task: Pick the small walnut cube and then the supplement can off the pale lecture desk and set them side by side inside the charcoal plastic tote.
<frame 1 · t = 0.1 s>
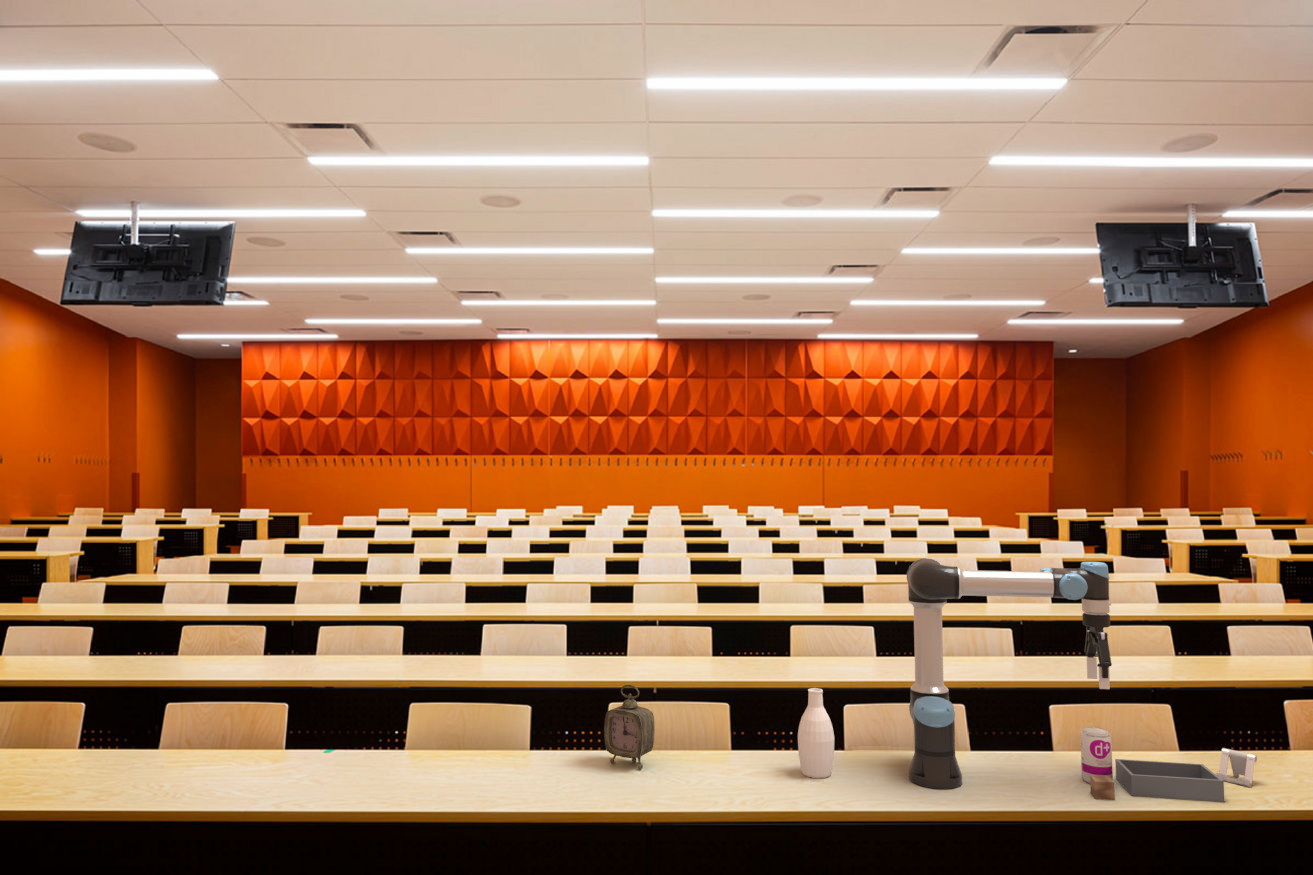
hand: (1098, 683, 262), 28 cm above the table, fingers open, 13 cm apart
bottle: (816, 774, 264), on the table
portable electronic device stand: (1237, 781, 257), on the table
walnut cube: (1102, 796, 244), on the table
supplement can: (1097, 782, 257), on the table
tabletop clock: (630, 764, 274), on the table
tote: (1168, 789, 249), on the table
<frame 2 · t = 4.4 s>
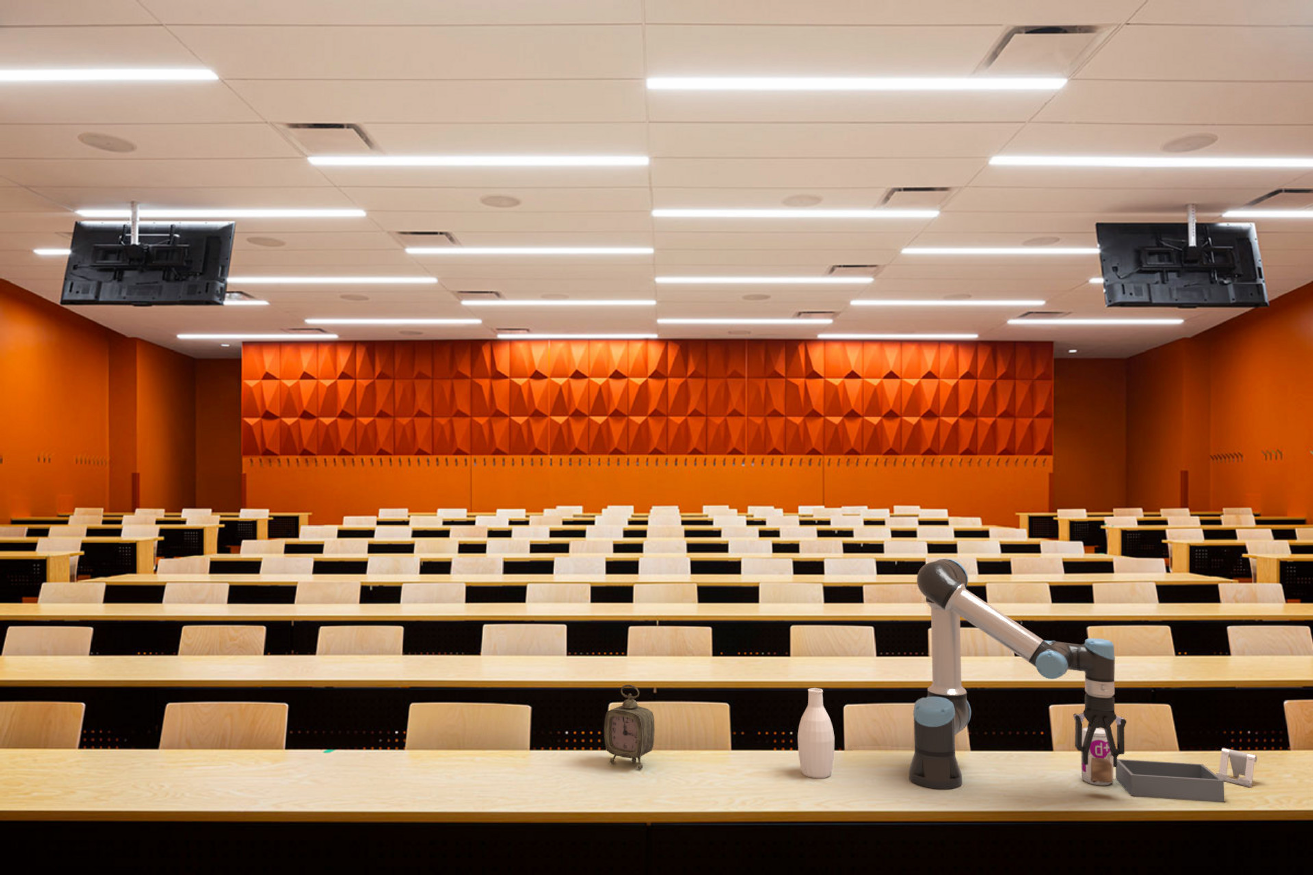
hand: (1099, 776, 245), 5 cm above the table, fingers closed on walnut cube, 5 cm apart
walnut cube: (1099, 778, 245), point 5 cm above the table, touching gripper
everything else where it was.
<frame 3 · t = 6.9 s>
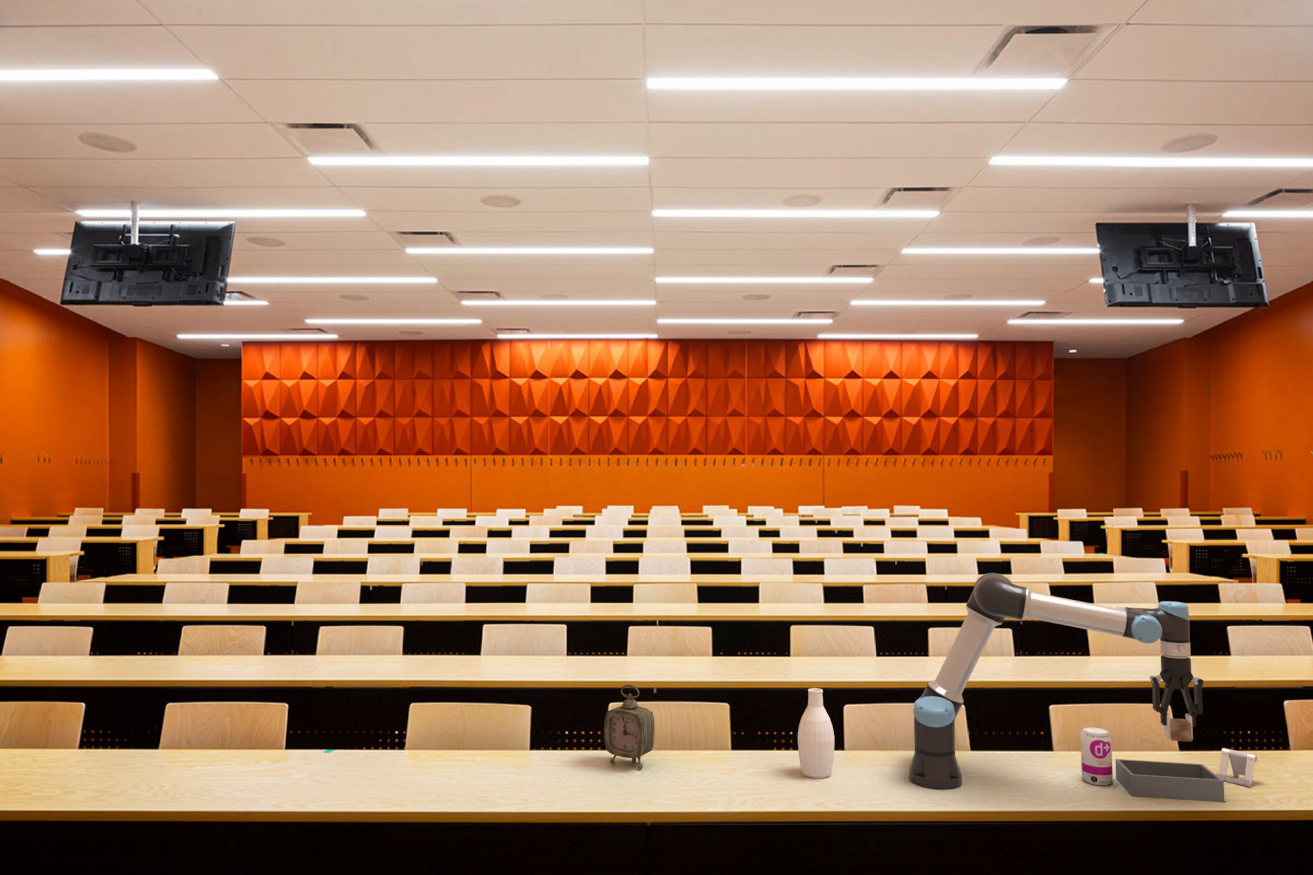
hand: (1178, 737, 249), 15 cm above the table, fingers closed on walnut cube, 5 cm apart
walnut cube: (1178, 738, 249), point 15 cm above the table, touching gripper
everything else where it was.
when the fingers open (2 cm above the table, at t = 9.5 s): walnut cube stays where it is, resting on tote.
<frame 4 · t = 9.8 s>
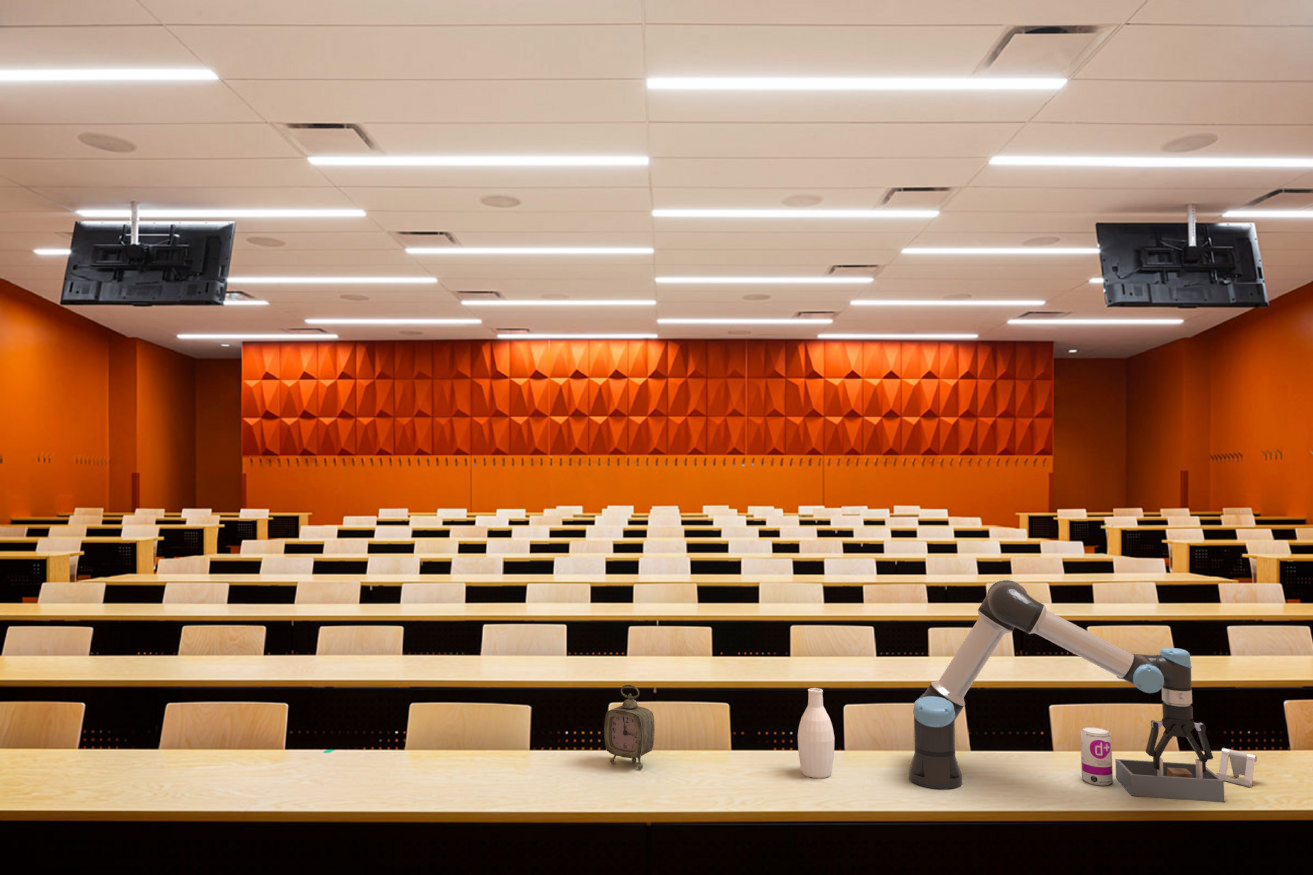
hand: (1179, 781, 248), 3 cm above the table, fingers open, 9 cm apart
walnut cube: (1180, 788, 248), point 1 cm above the table, touching tote
everything else where it was.
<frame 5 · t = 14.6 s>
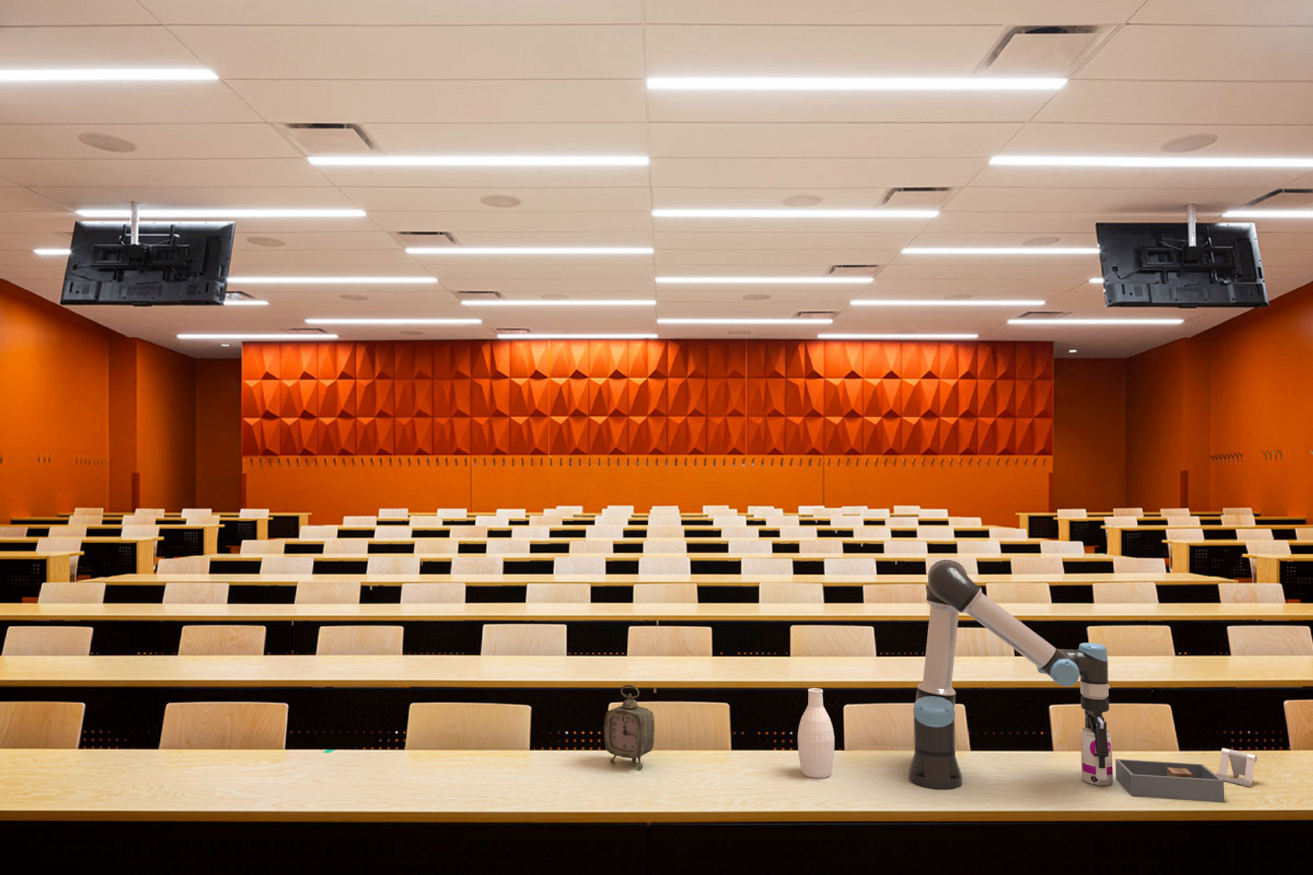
hand: (1097, 773, 257), 2 cm above the table, fingers closed on supplement can, 8 cm apart
supplement can: (1097, 781, 257), on the table, touching gripper
everything else where it was.
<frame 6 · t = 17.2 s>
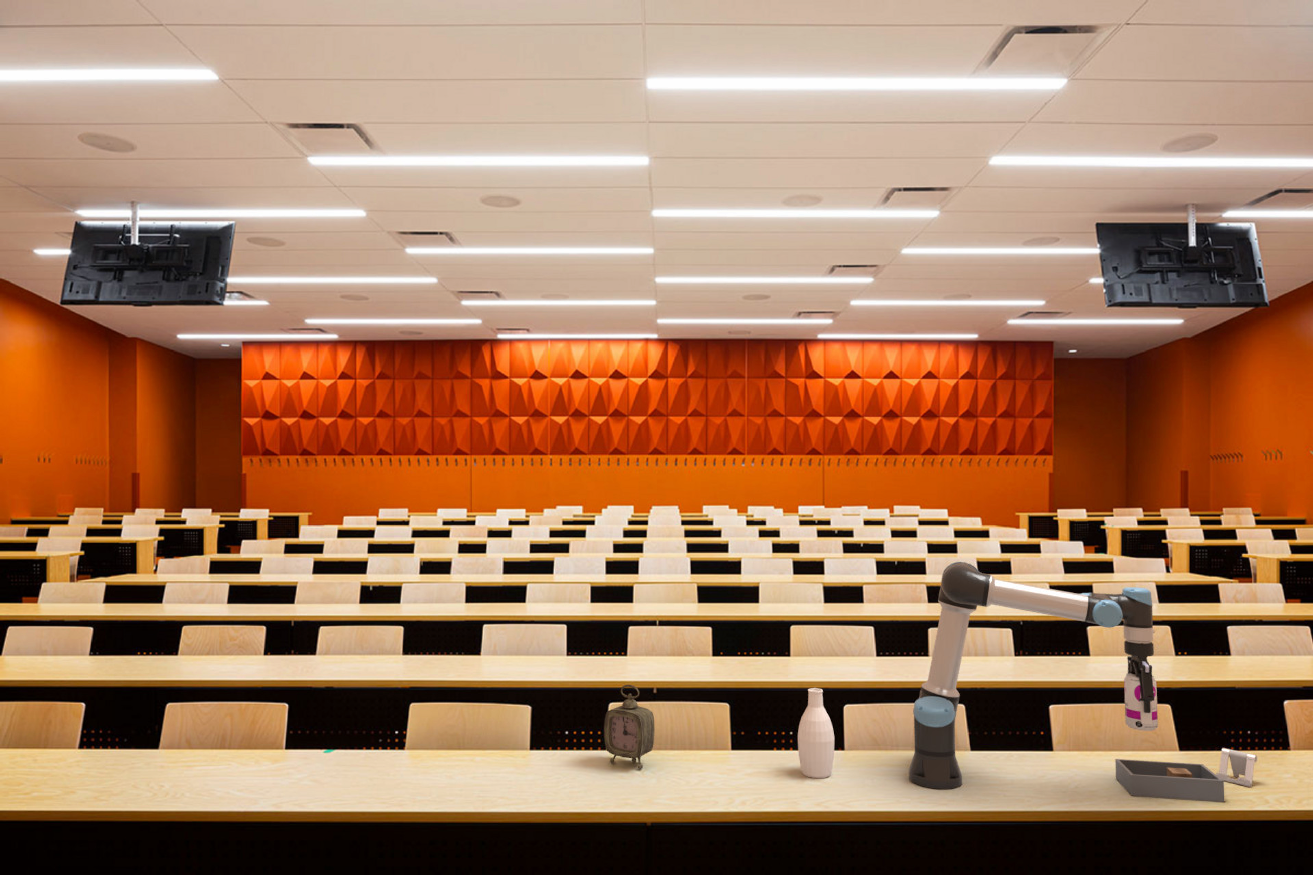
hand: (1141, 719, 252), 20 cm above the table, fingers closed on supplement can, 8 cm apart
supplement can: (1141, 727, 252), point 17 cm above the table, touching gripper
everything else where it was.
when the fingers open (6 cm above the table, at t = 20.0 s): supplement can drops 3 cm, resting on tote.
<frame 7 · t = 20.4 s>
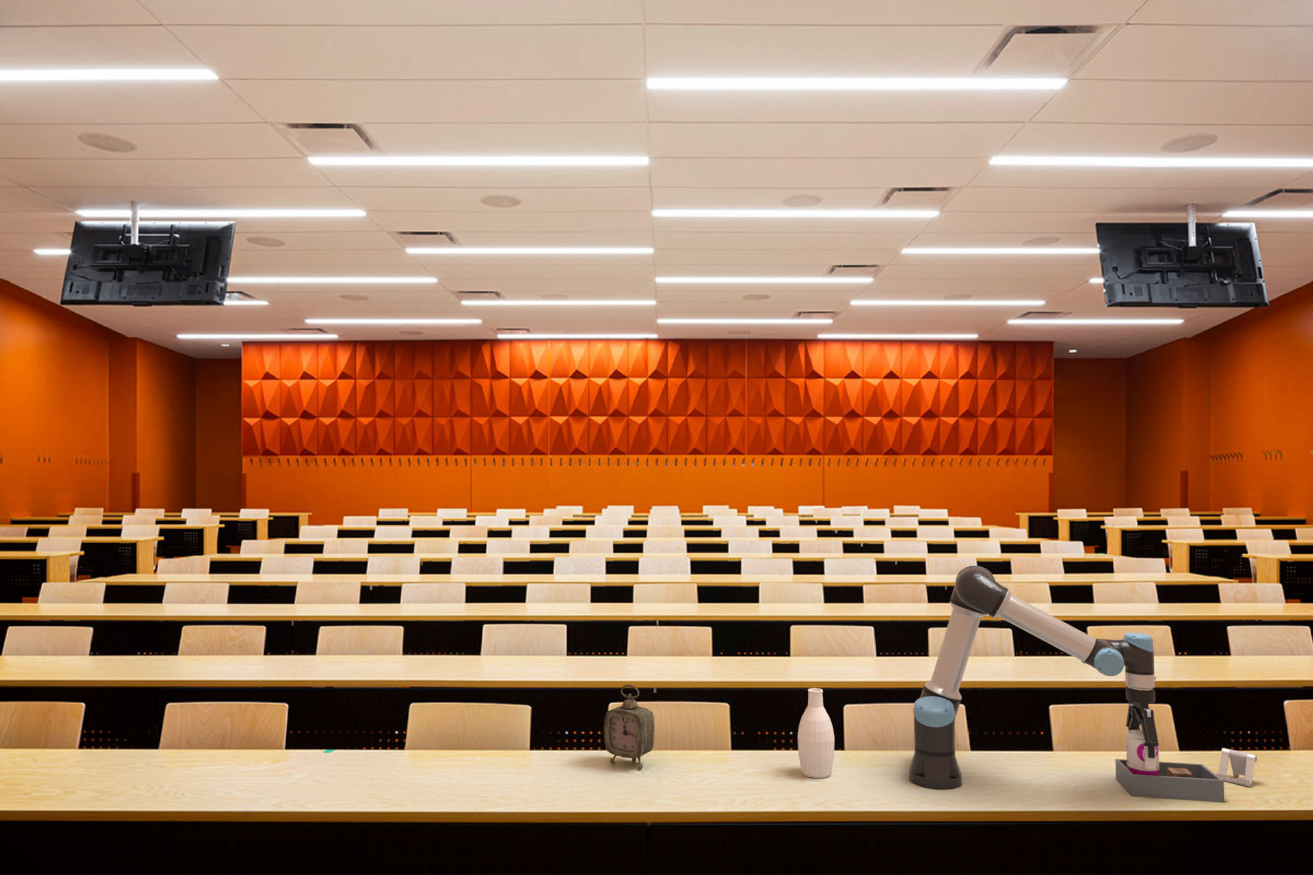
hand: (1142, 761, 251), 8 cm above the table, fingers open, 13 cm apart
supplement can: (1143, 786, 251), point 1 cm above the table, touching tote
everything else where it was.
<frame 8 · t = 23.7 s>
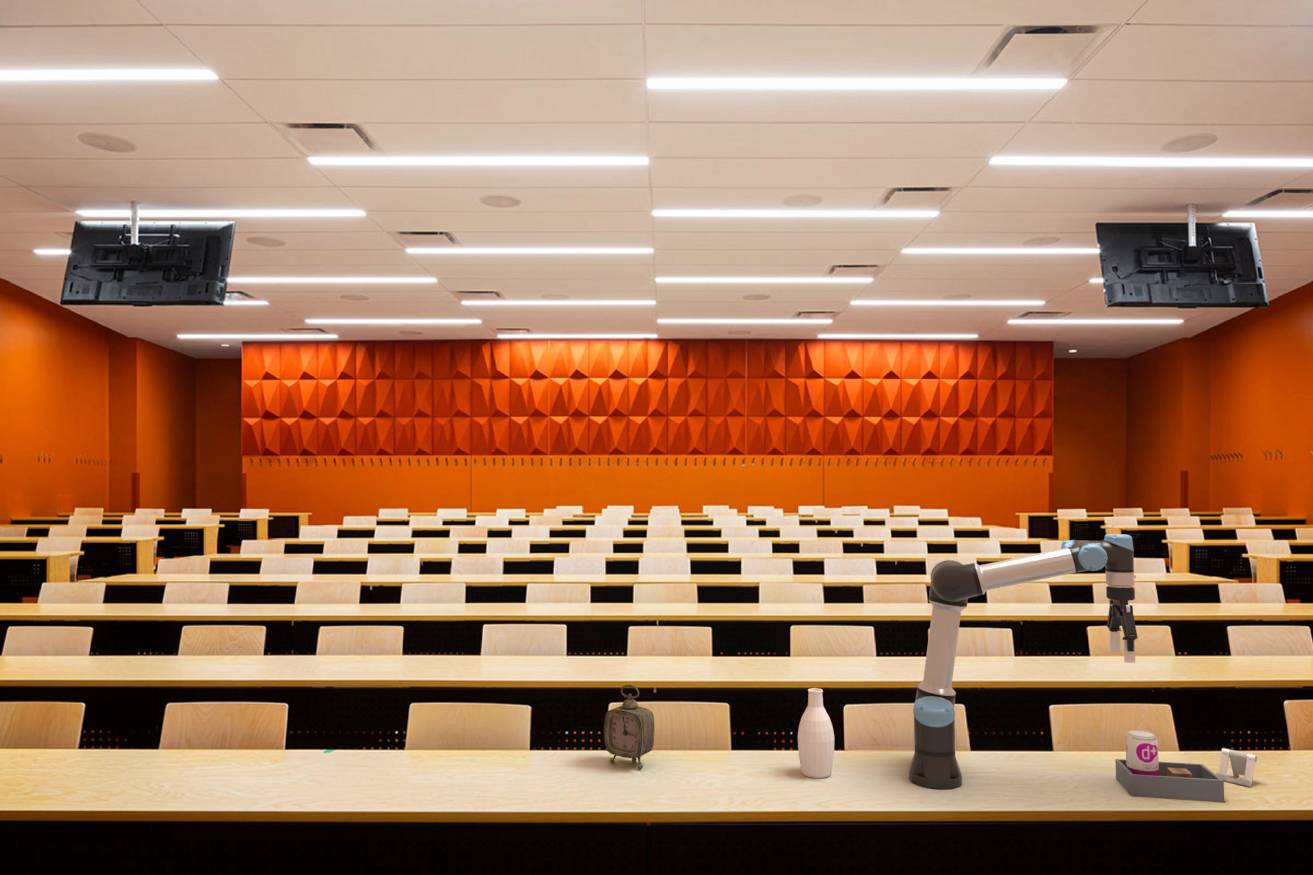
hand: (1122, 657, 257), 37 cm above the table, fingers open, 13 cm apart
nothing on the table moved.
at the end: walnut cube inside the target area on the tote (3.0 cm from its centre), point 0.8 cm above the tote's base; supplement can inside the target area on the tote (6.7 cm from its centre), point 0.6 cm above the tote's base; supplement can tilted 0° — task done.
